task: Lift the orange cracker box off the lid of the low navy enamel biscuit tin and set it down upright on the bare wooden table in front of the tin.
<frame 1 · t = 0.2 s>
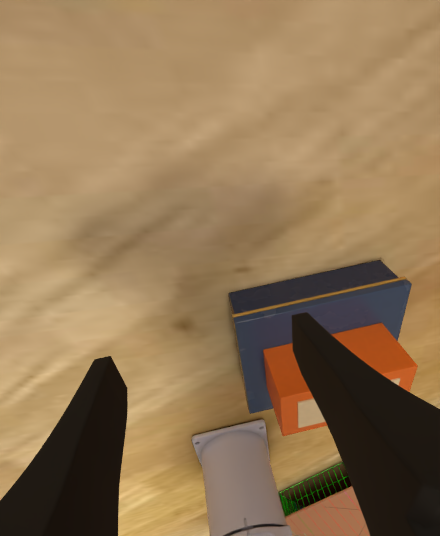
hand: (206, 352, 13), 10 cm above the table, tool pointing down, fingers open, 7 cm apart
snack box: (321, 356, 25), point 3 cm above the table, touching biscuit tin
biscuit tin: (304, 324, 27), on the table
house: (364, 483, 50), on the table
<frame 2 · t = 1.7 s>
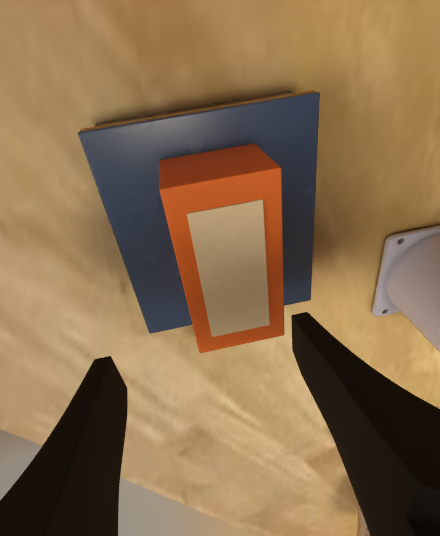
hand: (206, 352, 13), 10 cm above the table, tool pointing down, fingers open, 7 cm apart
snack box: (219, 234, 18), point 3 cm above the table, touching biscuit tin
biscuit tin: (210, 209, 20), on the table
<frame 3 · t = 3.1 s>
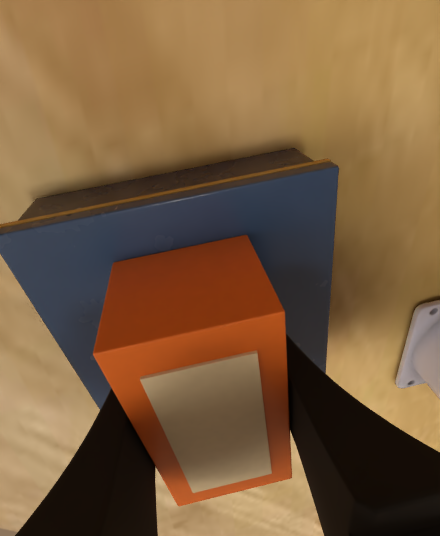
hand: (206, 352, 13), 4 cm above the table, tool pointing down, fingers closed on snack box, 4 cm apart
snack box: (203, 339, 13), point 3 cm above the table, touching biscuit tin, gripper
biscuit tin: (196, 288, 16), on the table
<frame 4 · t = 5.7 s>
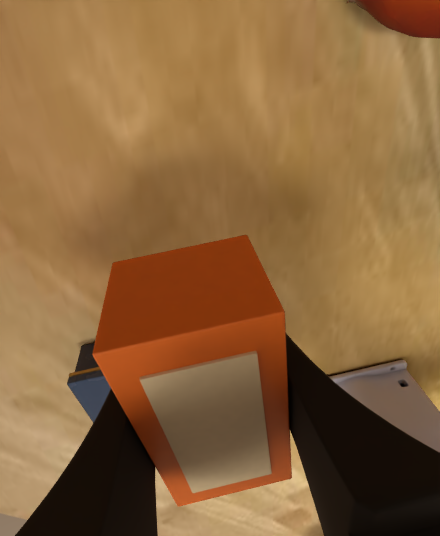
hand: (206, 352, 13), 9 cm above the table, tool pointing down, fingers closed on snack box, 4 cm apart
snack box: (203, 339, 13), point 9 cm above the table, touching gripper
biscuit tin: (170, 379, 27), on the table
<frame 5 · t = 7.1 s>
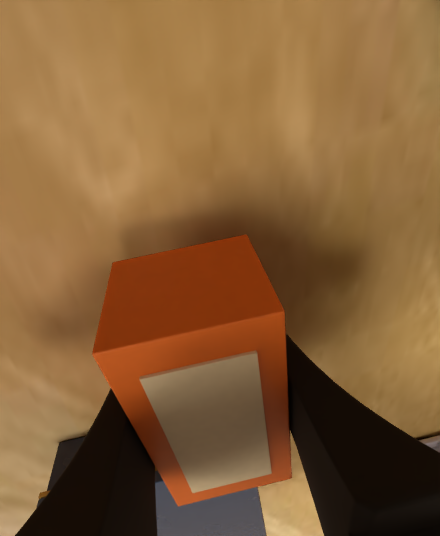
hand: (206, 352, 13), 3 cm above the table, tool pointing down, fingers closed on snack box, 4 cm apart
snack box: (203, 339, 13), point 2 cm above the table, touching gripper
biscuit tin: (171, 468, 22), on the table
when the fingers open (1 cm above the table, at t = 8.2 s): snack box stays where it is, on the table.
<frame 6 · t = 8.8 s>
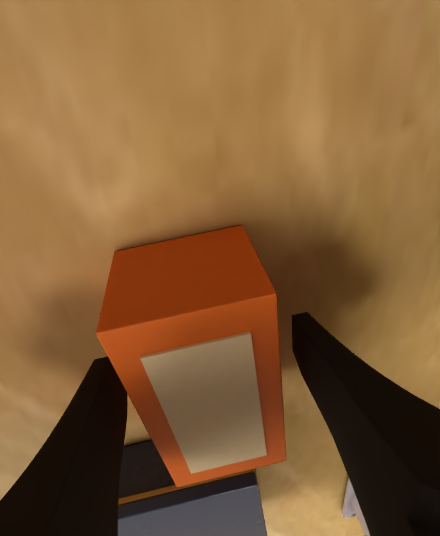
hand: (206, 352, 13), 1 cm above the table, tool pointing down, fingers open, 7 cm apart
snack box: (201, 327, 14), on the table
biscuit tin: (172, 486, 21), on the table
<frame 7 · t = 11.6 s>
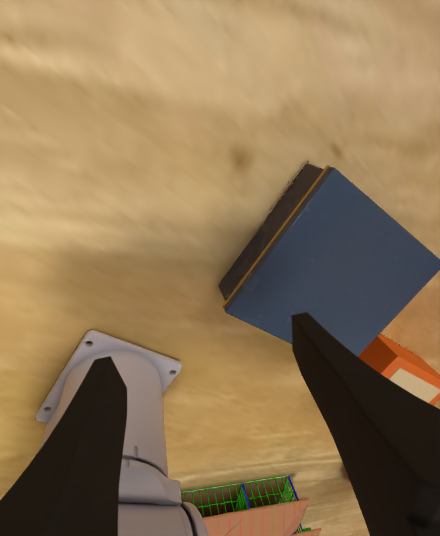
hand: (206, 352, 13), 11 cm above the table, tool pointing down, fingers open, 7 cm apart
snack box: (379, 359, 32), on the table
biscuit tin: (316, 265, 25), on the table
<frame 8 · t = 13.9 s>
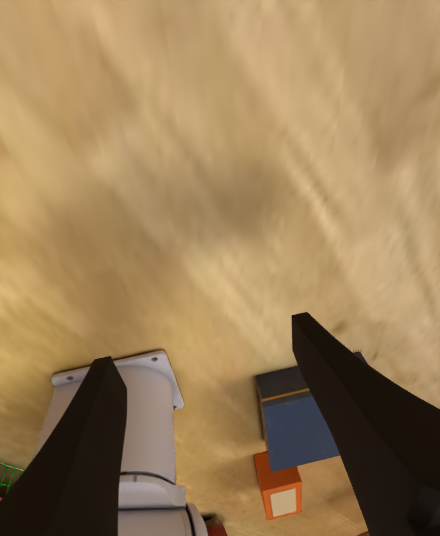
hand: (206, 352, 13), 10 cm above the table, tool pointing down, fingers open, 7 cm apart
snack box: (273, 467, 42), on the table
fruit: (199, 521, 48), on the table
biscuit tin: (307, 399, 34), on the table
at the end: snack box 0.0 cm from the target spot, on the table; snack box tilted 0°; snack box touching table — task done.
